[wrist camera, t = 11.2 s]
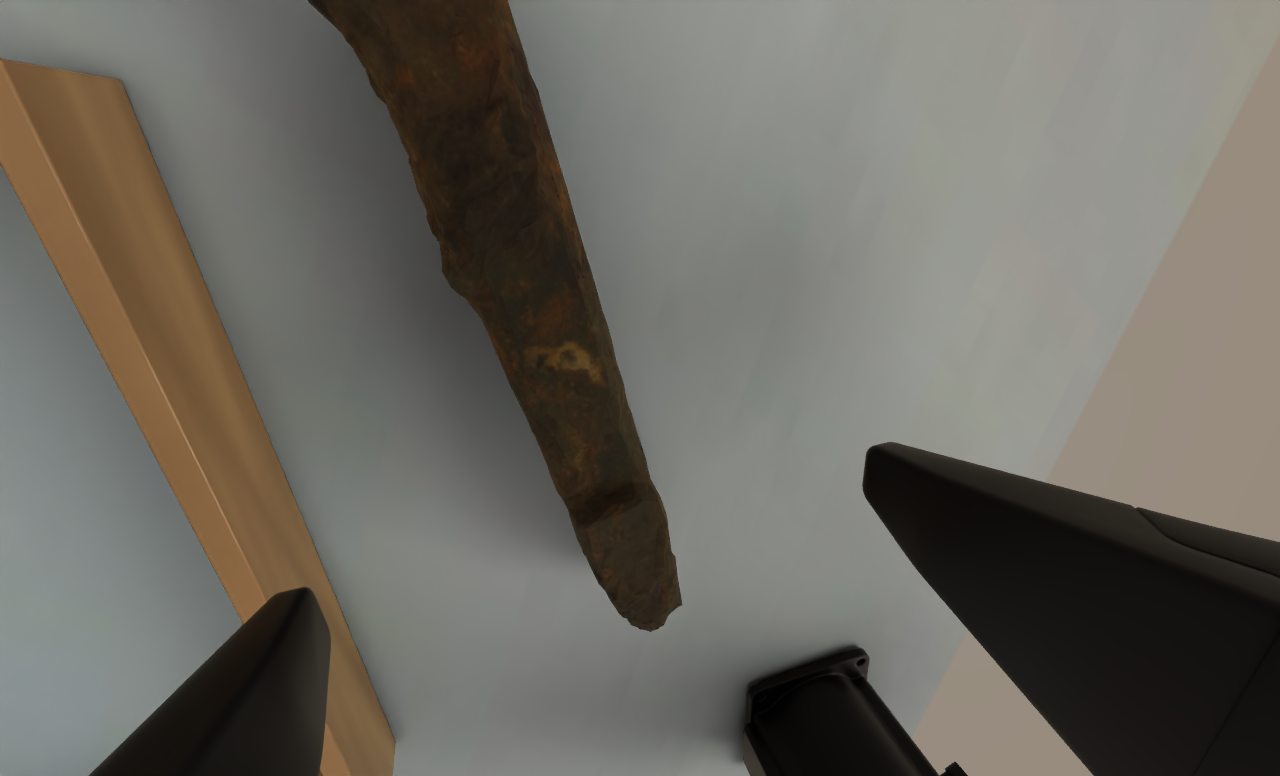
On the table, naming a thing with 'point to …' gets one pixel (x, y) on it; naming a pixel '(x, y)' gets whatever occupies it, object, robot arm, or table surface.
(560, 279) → the dark brown long piece
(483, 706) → the table surface
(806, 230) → the table surface
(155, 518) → the table surface
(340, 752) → the wooden rectangular frame
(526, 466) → the table surface
